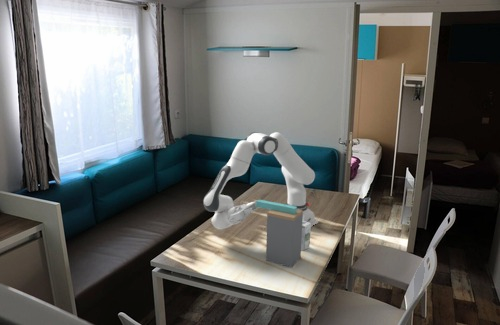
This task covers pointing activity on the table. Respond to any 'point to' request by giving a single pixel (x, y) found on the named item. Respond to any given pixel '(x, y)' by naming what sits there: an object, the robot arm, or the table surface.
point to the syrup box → (305, 235)
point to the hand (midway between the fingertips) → (257, 206)
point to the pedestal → (284, 237)
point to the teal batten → (276, 206)
